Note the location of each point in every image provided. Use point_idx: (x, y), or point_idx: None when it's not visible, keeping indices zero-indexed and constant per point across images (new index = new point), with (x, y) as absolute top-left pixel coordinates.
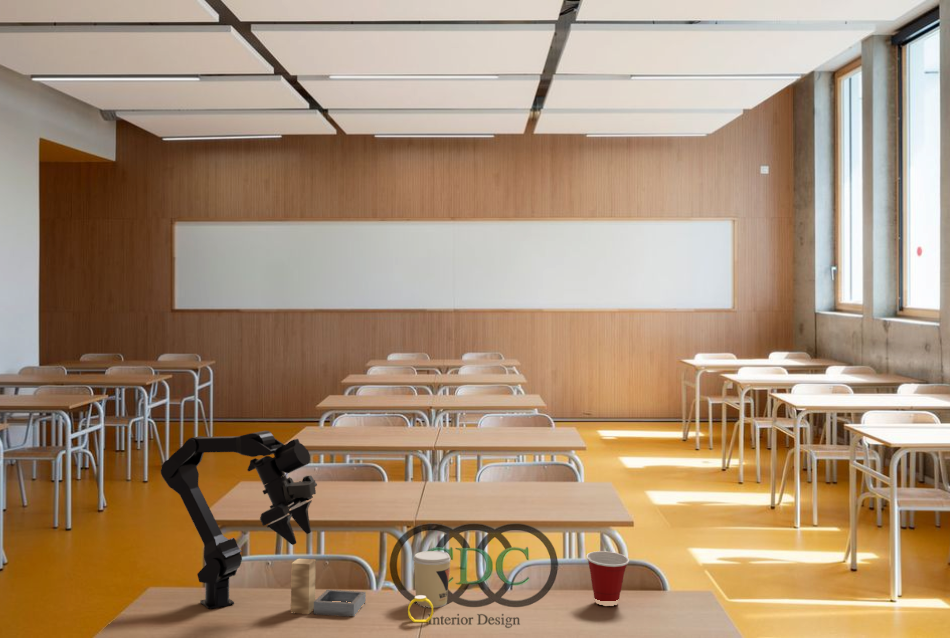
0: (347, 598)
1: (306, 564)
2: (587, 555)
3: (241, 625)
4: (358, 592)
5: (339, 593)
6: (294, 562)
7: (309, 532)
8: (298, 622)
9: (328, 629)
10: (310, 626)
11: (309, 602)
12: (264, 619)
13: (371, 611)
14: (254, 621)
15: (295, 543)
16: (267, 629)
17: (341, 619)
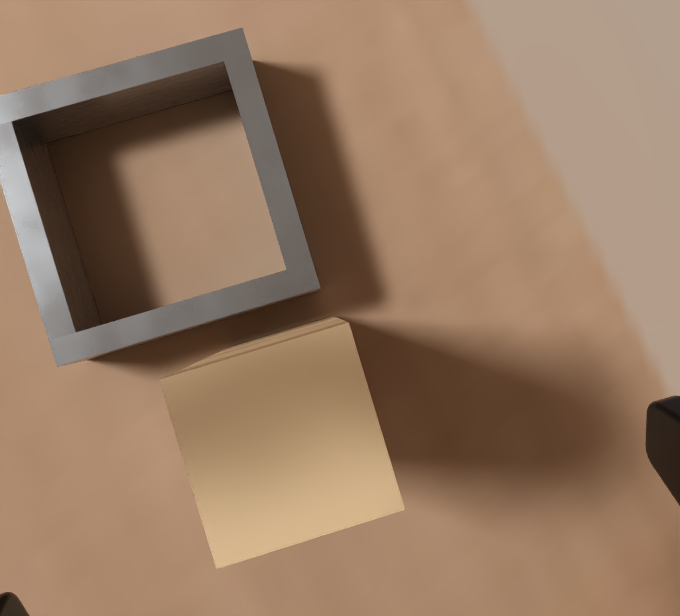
0: (56, 217)
1: (356, 353)
2: None
3: (650, 526)
4: (10, 139)
5: (61, 266)
6: (361, 504)
7: (13, 606)
8: (470, 283)
9: (487, 71)
10: (492, 186)
11: (323, 320)
12: (517, 481)
13: (118, 21)
14: (568, 508)
15: (673, 400)
16: (635, 362)
17: (318, 99)
